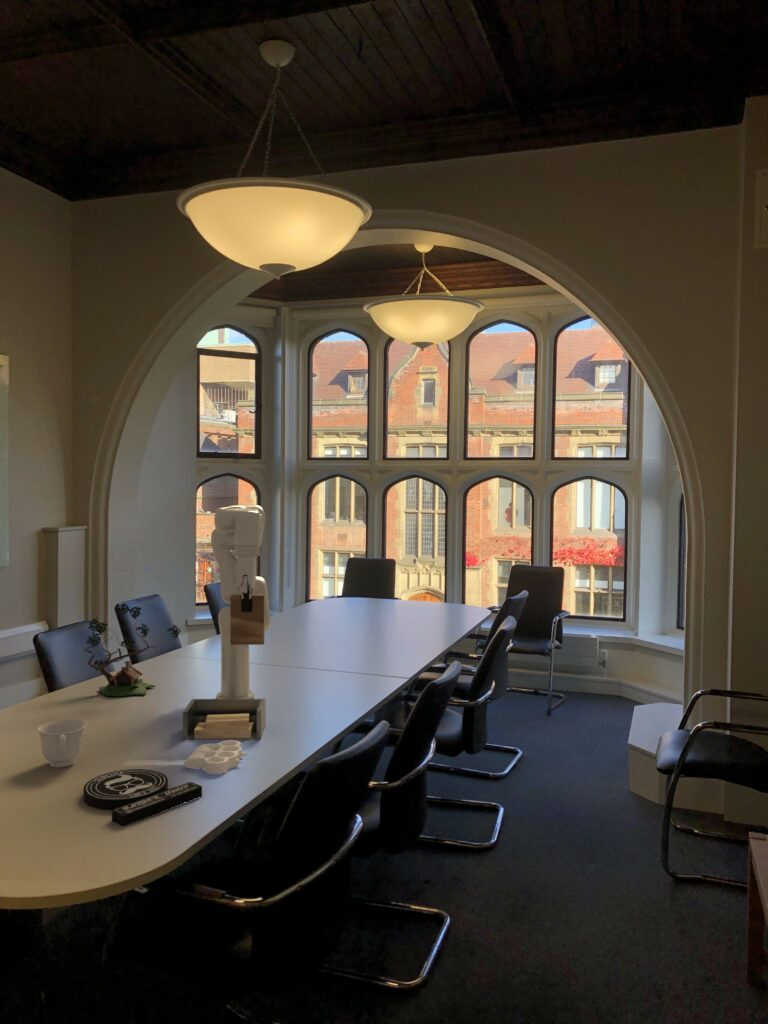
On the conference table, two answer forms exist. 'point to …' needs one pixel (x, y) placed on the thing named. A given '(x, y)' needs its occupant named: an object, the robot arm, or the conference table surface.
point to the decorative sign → (136, 794)
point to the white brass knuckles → (216, 757)
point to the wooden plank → (247, 621)
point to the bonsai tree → (128, 676)
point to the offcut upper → (227, 721)
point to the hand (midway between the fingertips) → (247, 610)
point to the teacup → (61, 741)
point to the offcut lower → (222, 732)
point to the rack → (204, 707)
